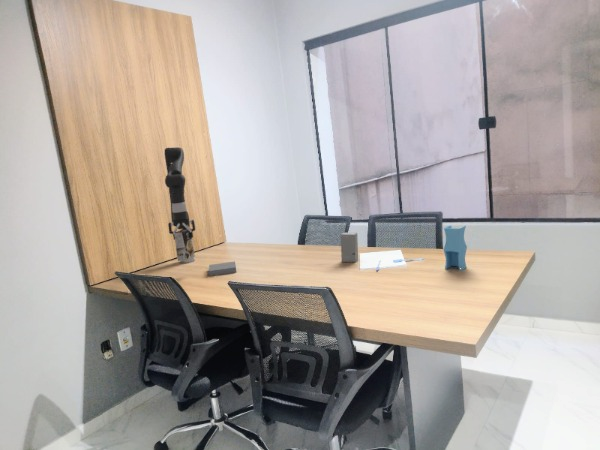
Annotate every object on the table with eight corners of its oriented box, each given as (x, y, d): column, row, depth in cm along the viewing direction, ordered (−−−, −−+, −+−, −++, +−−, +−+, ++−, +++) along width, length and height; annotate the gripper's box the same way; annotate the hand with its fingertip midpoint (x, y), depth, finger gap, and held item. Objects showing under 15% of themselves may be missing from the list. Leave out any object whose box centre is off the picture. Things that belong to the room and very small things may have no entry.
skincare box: (341, 262, 231) (339, 234, 229) (345, 259, 238) (342, 232, 235) (356, 262, 228) (354, 234, 225) (359, 259, 234) (357, 231, 232)
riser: (210, 269, 244) (209, 264, 244) (235, 266, 247) (234, 261, 246) (209, 276, 230) (208, 271, 229) (236, 272, 232) (235, 267, 232)
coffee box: (188, 260, 229) (184, 232, 226) (177, 261, 230) (173, 232, 227) (195, 256, 237) (191, 228, 235) (185, 256, 239) (181, 229, 236)
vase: (467, 266, 200) (465, 225, 197) (460, 270, 194) (459, 228, 191) (451, 265, 205) (449, 225, 202) (444, 269, 200) (442, 228, 196)
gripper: (193, 208, 234) (197, 236, 237) (167, 211, 232) (171, 240, 234) (192, 210, 227) (196, 239, 229) (165, 213, 224) (169, 242, 227)
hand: (183, 239), depth 232 cm, fingers closed on coffee box, 8 cm apart
